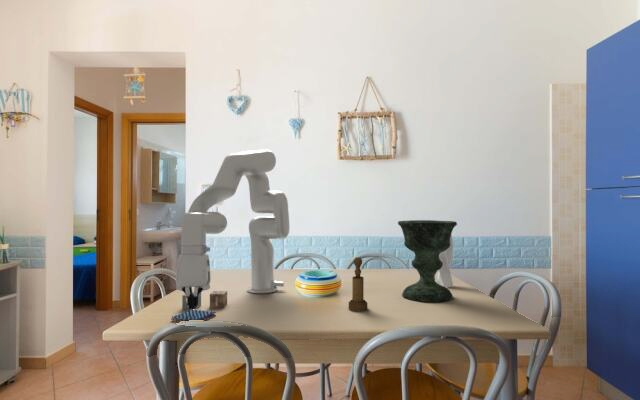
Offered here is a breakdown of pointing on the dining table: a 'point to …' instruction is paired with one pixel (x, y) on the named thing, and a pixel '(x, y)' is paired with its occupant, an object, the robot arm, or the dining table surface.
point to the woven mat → (193, 315)
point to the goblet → (427, 257)
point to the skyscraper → (445, 267)
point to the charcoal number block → (184, 302)
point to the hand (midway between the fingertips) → (192, 307)
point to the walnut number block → (218, 299)
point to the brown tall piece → (357, 290)
